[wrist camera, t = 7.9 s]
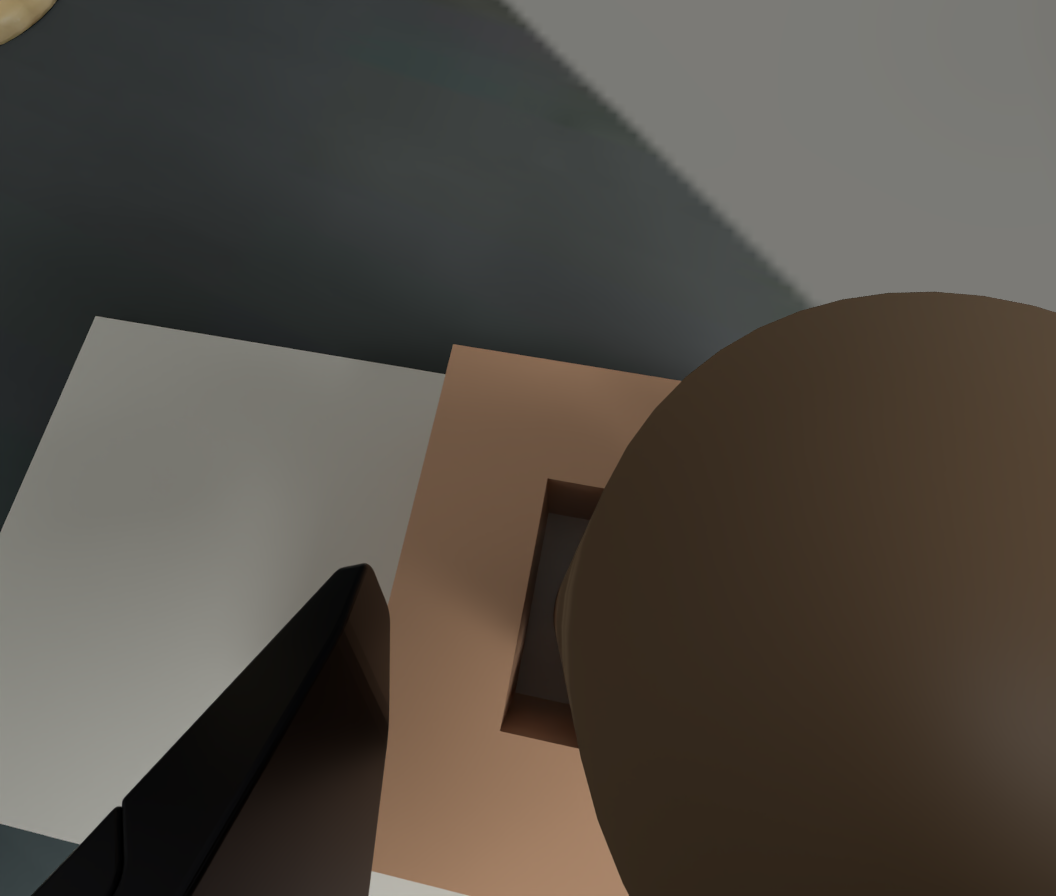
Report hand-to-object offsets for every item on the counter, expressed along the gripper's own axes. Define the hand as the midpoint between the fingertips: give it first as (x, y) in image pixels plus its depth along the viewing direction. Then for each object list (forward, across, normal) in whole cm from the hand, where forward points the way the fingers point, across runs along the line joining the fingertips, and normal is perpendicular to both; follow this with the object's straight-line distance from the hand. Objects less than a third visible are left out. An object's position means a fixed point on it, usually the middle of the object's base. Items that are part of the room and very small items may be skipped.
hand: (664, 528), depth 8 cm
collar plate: (+6, +6, +6) cm, 10 cm away
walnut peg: (+4, 0, +6) cm, 8 cm away
